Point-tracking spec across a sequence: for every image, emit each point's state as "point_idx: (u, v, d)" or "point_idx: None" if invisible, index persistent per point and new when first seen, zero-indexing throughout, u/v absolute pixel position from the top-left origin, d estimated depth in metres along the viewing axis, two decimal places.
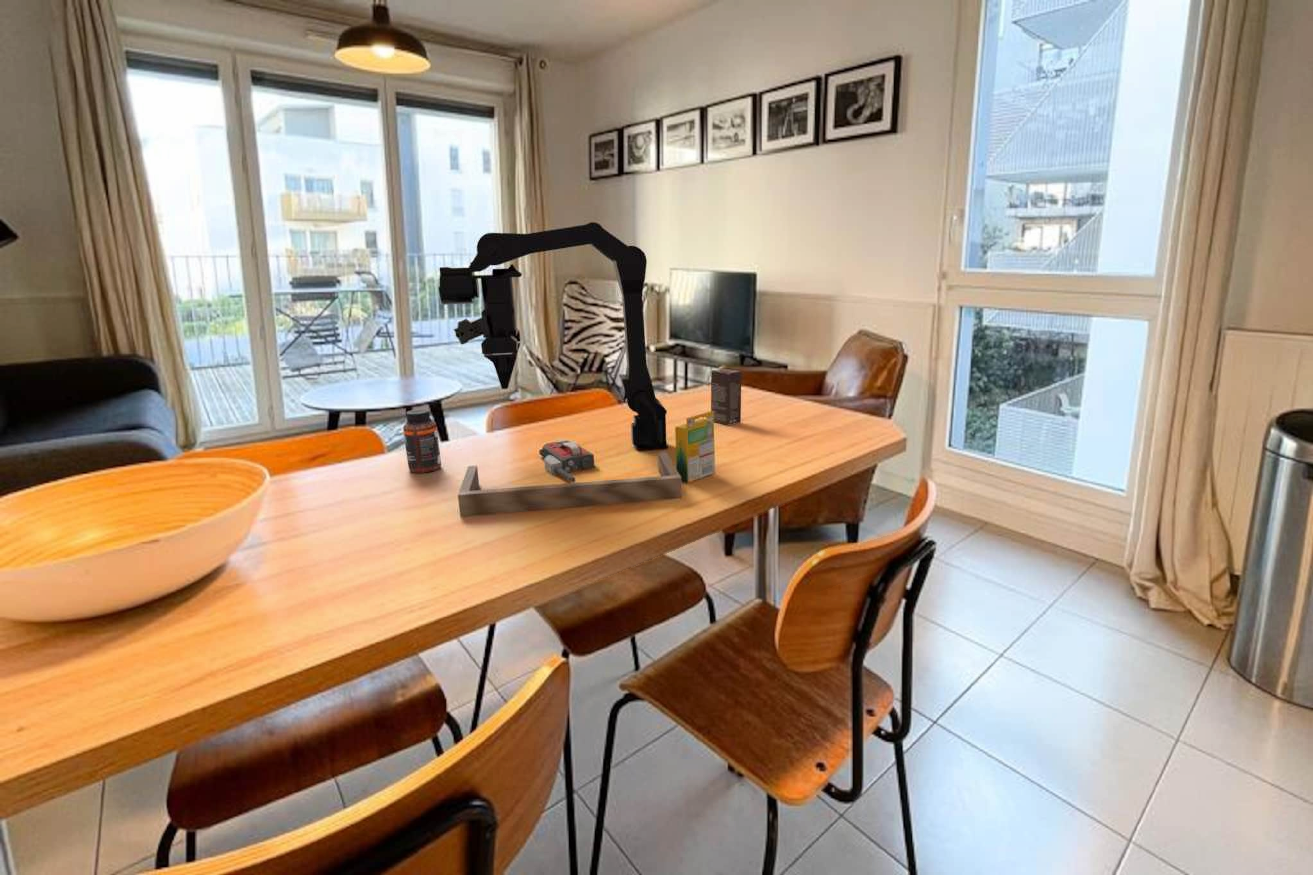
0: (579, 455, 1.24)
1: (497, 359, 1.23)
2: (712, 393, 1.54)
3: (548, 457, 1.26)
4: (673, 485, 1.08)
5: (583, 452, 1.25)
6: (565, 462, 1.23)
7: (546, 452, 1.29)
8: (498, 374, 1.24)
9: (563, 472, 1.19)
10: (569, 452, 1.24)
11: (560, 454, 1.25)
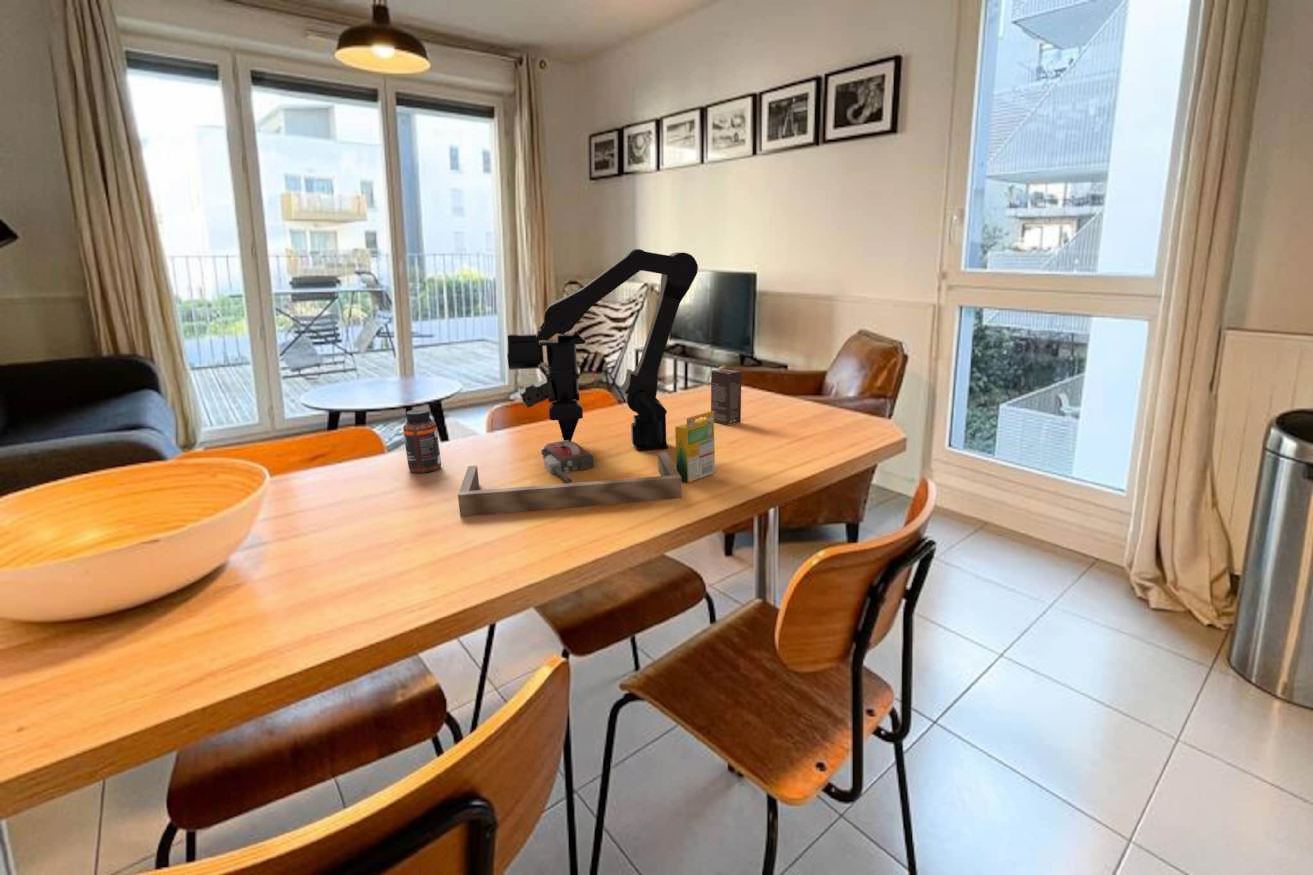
0: (578, 455, 1.24)
1: None
2: (712, 393, 1.54)
3: (548, 457, 1.26)
4: (673, 485, 1.08)
5: (583, 453, 1.25)
6: (564, 462, 1.23)
7: (547, 452, 1.30)
8: (562, 431, 1.33)
9: (561, 472, 1.19)
10: (569, 452, 1.25)
11: (560, 454, 1.25)
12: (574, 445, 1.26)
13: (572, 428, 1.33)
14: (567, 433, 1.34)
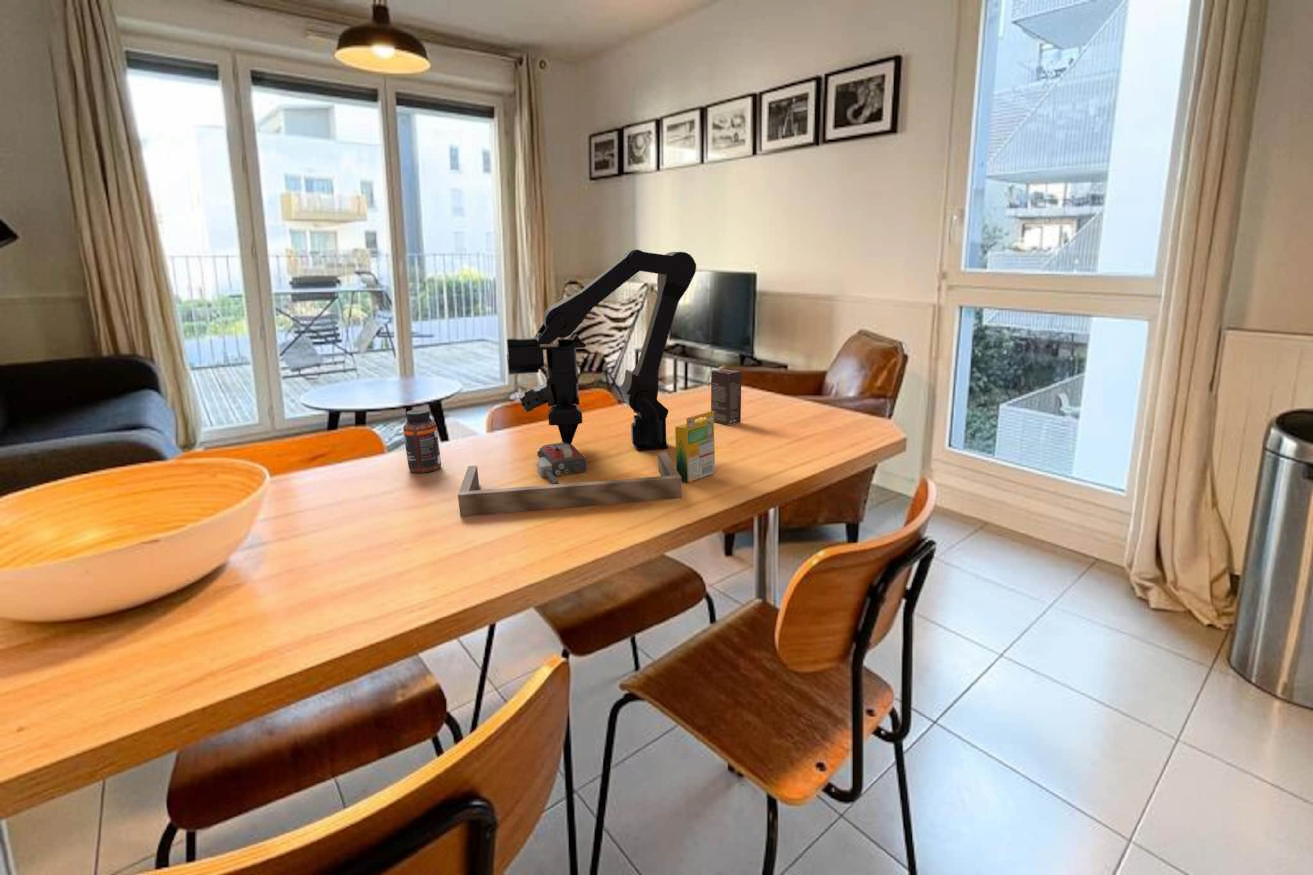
0: (570, 458, 1.22)
1: None
2: (712, 393, 1.54)
3: (541, 459, 1.24)
4: (673, 485, 1.08)
5: (576, 455, 1.23)
6: (555, 465, 1.21)
7: (542, 454, 1.28)
8: (561, 435, 1.32)
9: (550, 475, 1.17)
10: (561, 455, 1.23)
11: (552, 457, 1.23)
12: (567, 448, 1.24)
13: (572, 433, 1.32)
14: (567, 438, 1.32)
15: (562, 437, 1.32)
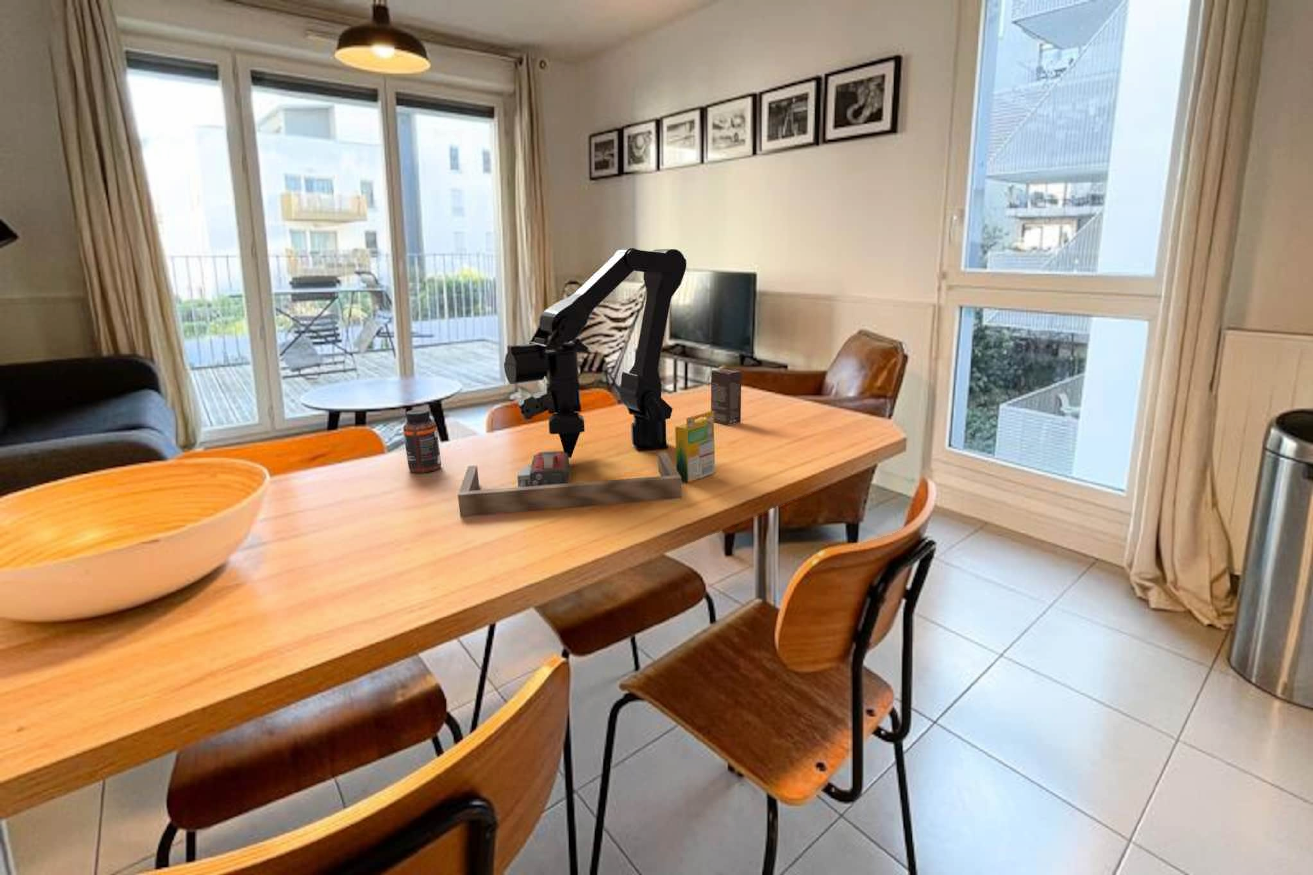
0: (550, 469, 1.16)
1: None
2: (712, 393, 1.54)
3: (526, 467, 1.20)
4: (673, 485, 1.08)
5: (557, 467, 1.17)
6: (533, 475, 1.16)
7: None
8: (563, 444, 1.26)
9: (520, 486, 1.12)
10: (542, 465, 1.17)
11: (535, 466, 1.18)
12: (550, 458, 1.18)
13: (573, 441, 1.26)
14: (568, 446, 1.27)
15: (563, 446, 1.26)
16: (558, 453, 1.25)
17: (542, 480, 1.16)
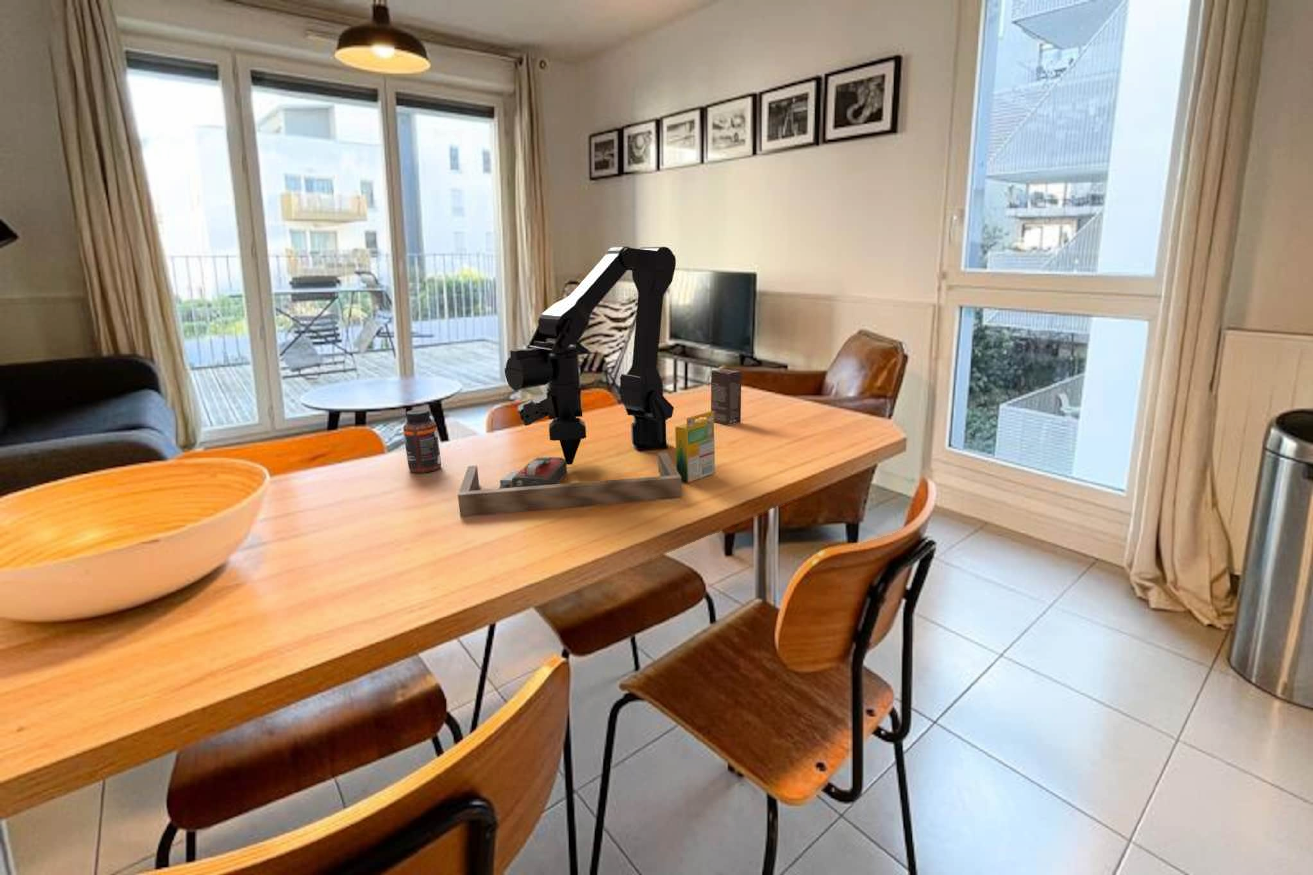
0: (531, 477, 1.13)
1: None
2: (712, 393, 1.54)
3: (515, 472, 1.18)
4: (673, 485, 1.08)
5: (540, 474, 1.13)
6: (514, 481, 1.13)
7: None
8: (563, 451, 1.22)
9: None
10: None
11: (522, 471, 1.16)
12: (536, 464, 1.15)
13: (574, 447, 1.22)
14: (569, 453, 1.23)
15: (564, 452, 1.22)
16: (555, 459, 1.21)
17: None
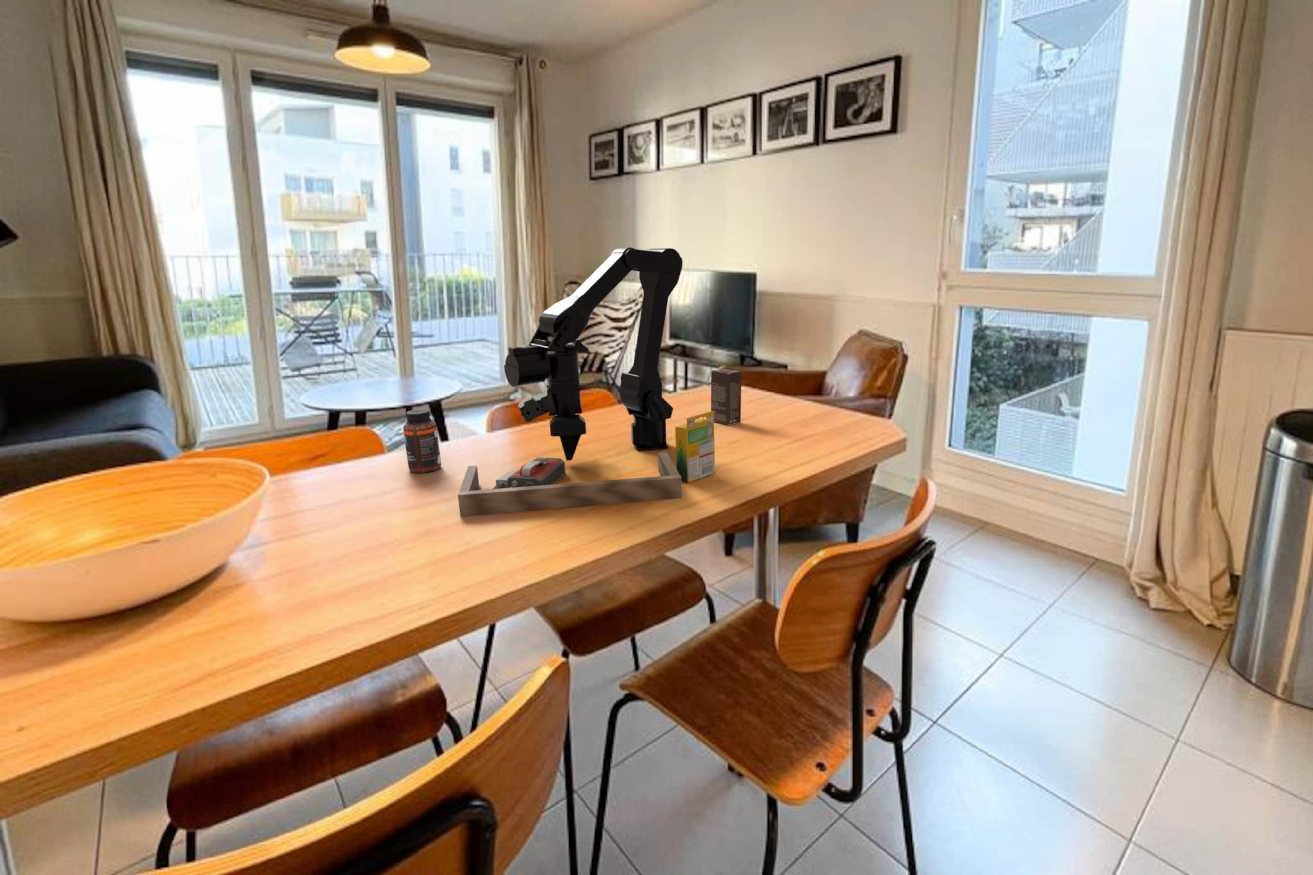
0: (526, 477, 1.13)
1: None
2: (712, 393, 1.54)
3: (512, 472, 1.18)
4: (673, 485, 1.08)
5: (535, 475, 1.13)
6: (509, 481, 1.13)
7: None
8: (563, 447, 1.25)
9: None
10: None
11: (518, 471, 1.16)
12: (532, 465, 1.15)
13: (574, 444, 1.25)
14: (569, 449, 1.25)
15: (564, 448, 1.25)
16: (553, 460, 1.21)
17: None
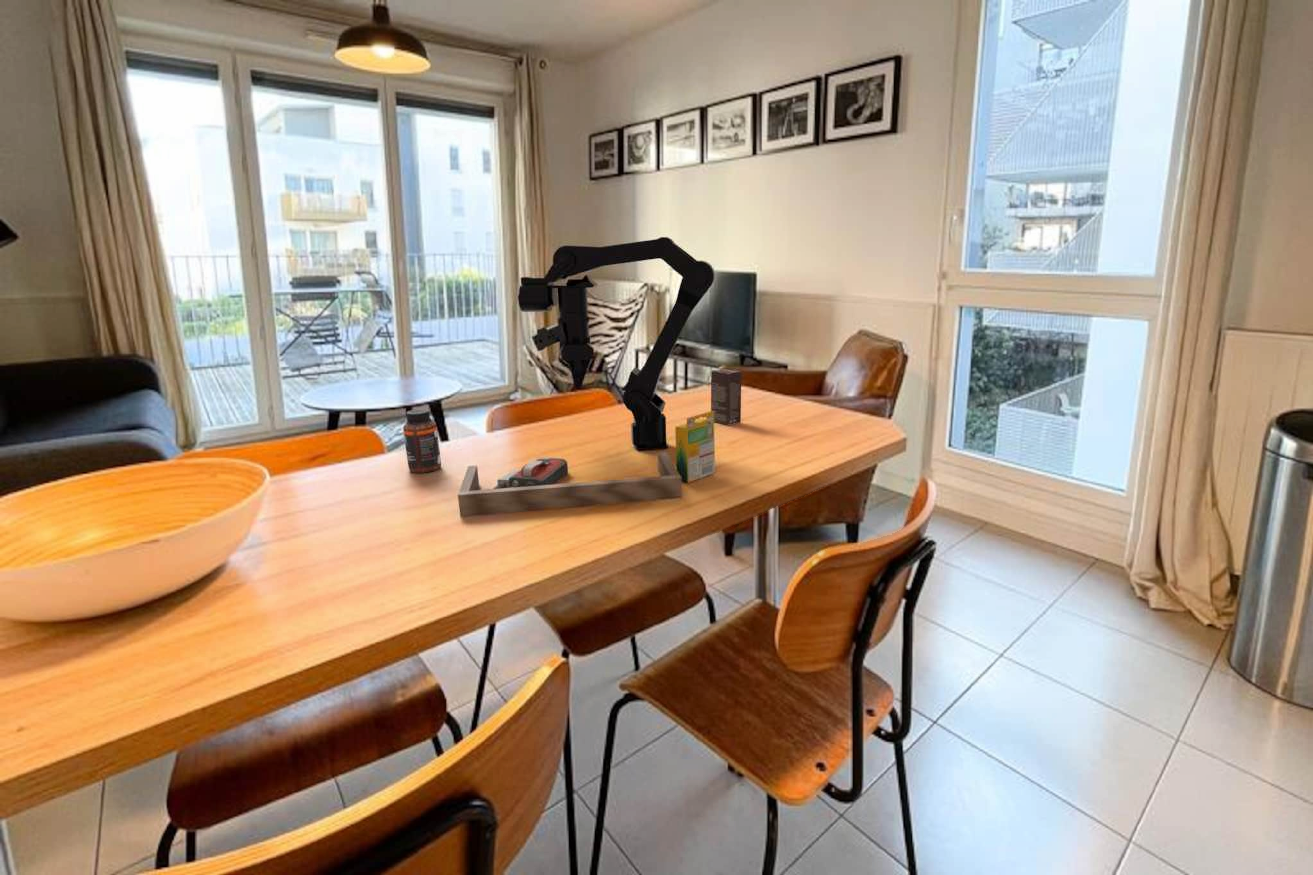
0: (526, 477, 1.13)
1: (573, 361, 1.33)
2: (712, 393, 1.54)
3: (515, 471, 1.18)
4: (673, 485, 1.08)
5: (536, 475, 1.13)
6: (510, 481, 1.13)
7: None
8: (573, 375, 1.35)
9: None
10: None
11: (520, 471, 1.16)
12: (533, 465, 1.15)
13: (583, 372, 1.35)
14: (578, 377, 1.35)
15: (573, 377, 1.35)
16: (556, 460, 1.21)
17: None
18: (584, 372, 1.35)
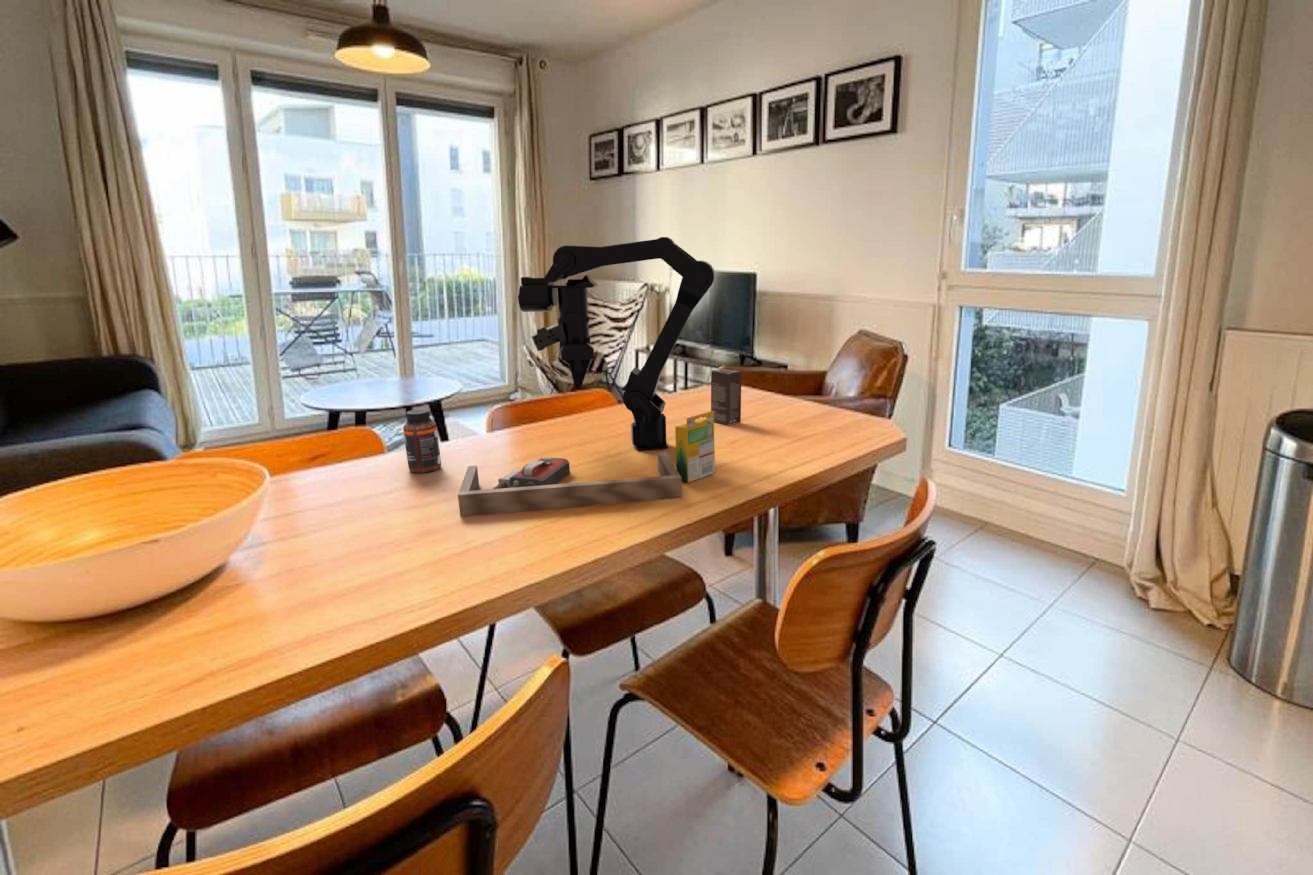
0: (527, 477, 1.13)
1: (573, 361, 1.33)
2: (712, 393, 1.54)
3: (516, 471, 1.18)
4: (673, 485, 1.08)
5: (537, 475, 1.13)
6: (511, 480, 1.14)
7: None
8: (573, 375, 1.35)
9: None
10: None
11: (521, 471, 1.16)
12: (534, 465, 1.15)
13: (583, 372, 1.35)
14: (578, 377, 1.35)
15: (573, 377, 1.35)
16: (557, 460, 1.21)
17: None
18: (584, 372, 1.35)
